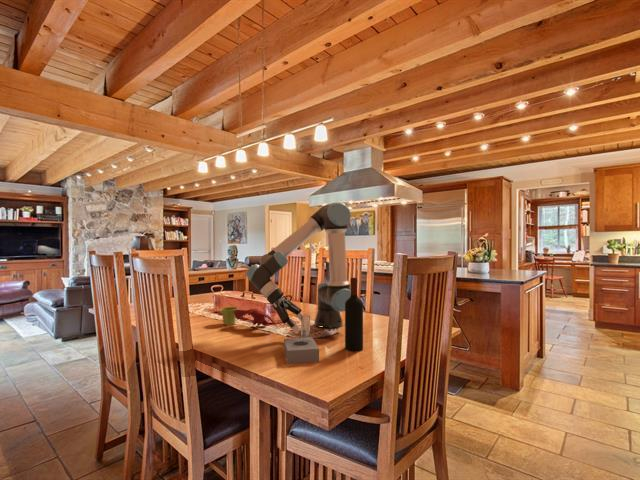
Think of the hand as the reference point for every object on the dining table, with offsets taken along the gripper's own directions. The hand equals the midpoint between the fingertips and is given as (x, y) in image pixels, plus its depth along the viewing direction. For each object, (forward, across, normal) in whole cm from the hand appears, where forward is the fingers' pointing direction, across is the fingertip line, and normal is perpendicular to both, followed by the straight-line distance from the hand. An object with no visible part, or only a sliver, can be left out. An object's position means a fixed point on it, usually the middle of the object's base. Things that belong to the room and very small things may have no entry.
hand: (303, 328), depth 155 cm
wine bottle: (+21, +2, +12) cm, 24 cm away
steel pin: (+5, 0, -4) cm, 7 cm away
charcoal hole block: (+8, +17, -2) cm, 19 cm away
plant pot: (-30, -23, -40) cm, 55 cm away
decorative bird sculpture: (-17, -19, -27) cm, 37 cm away
